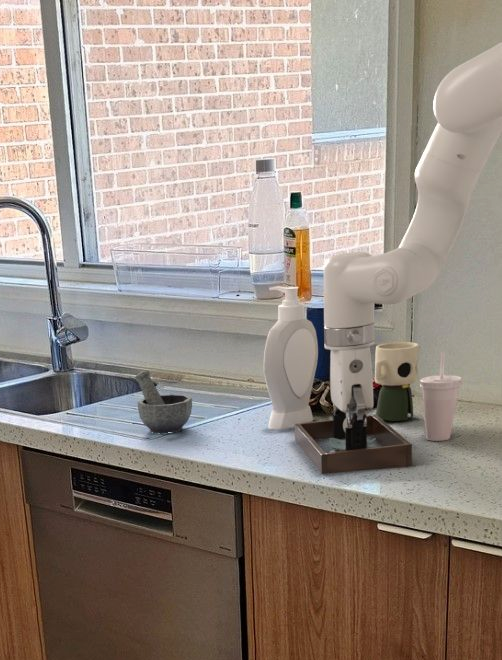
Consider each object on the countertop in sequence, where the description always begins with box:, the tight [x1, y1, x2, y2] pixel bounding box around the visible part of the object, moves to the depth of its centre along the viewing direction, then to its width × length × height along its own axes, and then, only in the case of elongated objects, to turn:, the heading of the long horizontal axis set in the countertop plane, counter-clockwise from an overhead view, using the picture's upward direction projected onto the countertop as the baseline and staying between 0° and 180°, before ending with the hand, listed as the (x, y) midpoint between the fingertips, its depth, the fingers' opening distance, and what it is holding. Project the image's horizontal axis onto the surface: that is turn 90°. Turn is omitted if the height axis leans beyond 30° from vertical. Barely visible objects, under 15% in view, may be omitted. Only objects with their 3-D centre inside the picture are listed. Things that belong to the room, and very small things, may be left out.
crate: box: [294, 413, 413, 475], centre depth 198 cm, size 14×23×4 cm, turn 176°
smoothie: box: [419, 351, 463, 442], centre depth 197 cm, size 6×6×14 cm
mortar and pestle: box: [134, 370, 193, 433], centre depth 225 cm, size 11×9×12 cm
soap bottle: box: [263, 285, 319, 430], centre depth 217 cm, size 13×8×24 cm, turn 121°
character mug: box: [374, 341, 420, 422], centre depth 213 cm, size 11×7×13 cm, turn 126°
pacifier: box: [328, 415, 377, 453], centre depth 197 cm, size 7×6×6 cm
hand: (349, 444), depth 198 cm, fingers open, 8 cm apart
